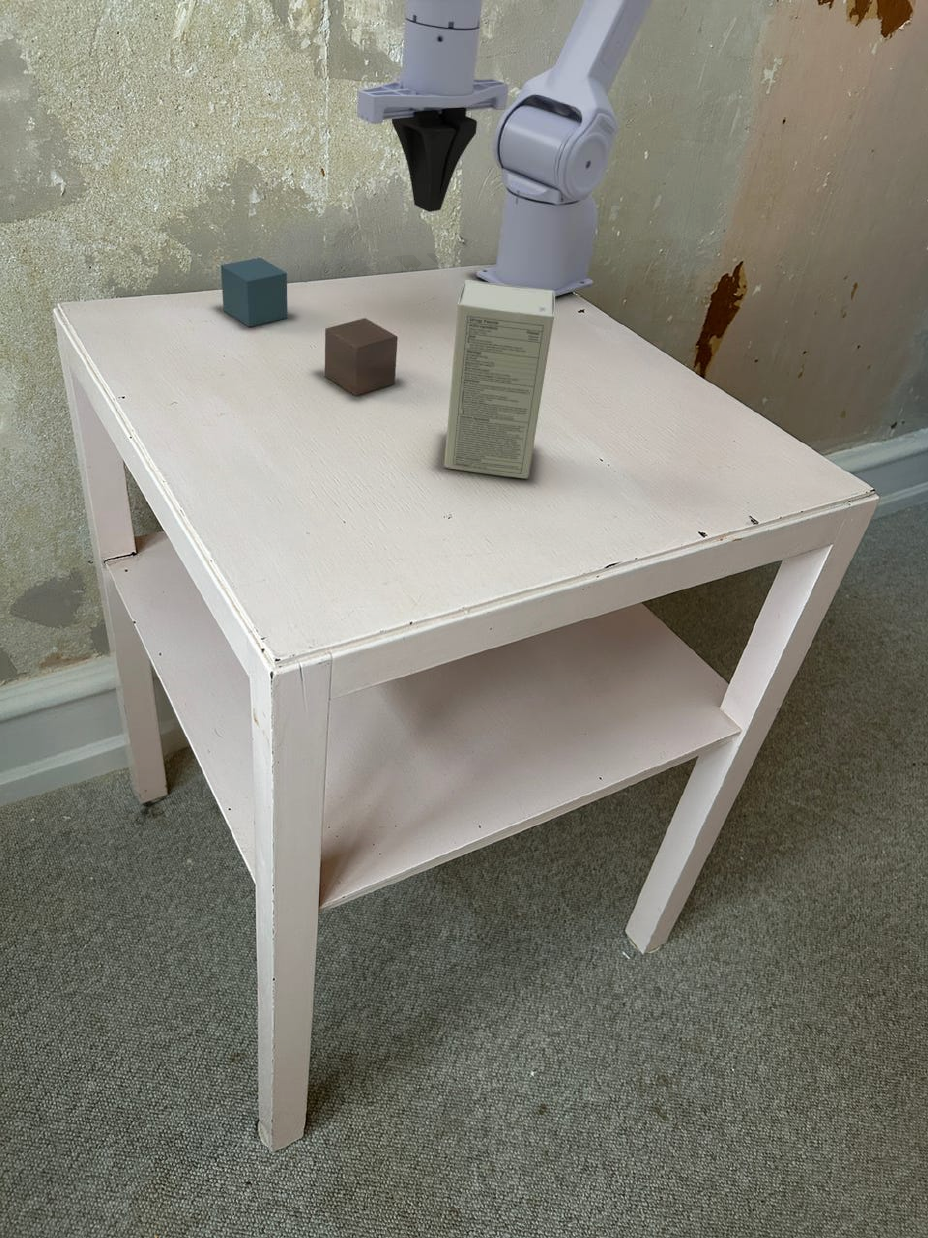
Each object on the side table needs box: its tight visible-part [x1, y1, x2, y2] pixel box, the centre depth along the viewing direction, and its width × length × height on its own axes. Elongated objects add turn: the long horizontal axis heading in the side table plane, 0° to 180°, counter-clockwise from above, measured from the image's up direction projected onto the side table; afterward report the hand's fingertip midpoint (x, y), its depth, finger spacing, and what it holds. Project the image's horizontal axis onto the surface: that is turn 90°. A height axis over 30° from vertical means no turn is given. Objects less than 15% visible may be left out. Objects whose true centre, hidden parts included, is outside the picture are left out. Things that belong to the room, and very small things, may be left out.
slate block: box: [220, 257, 288, 328], centre depth 82 cm, size 4×4×4 cm
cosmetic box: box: [443, 279, 556, 479], centre depth 64 cm, size 6×4×12 cm
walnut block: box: [324, 317, 399, 397], centre depth 74 cm, size 4×4×4 cm
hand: (427, 207), depth 81 cm, fingers closed
